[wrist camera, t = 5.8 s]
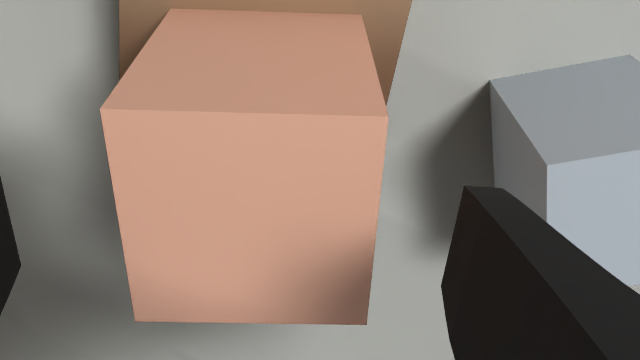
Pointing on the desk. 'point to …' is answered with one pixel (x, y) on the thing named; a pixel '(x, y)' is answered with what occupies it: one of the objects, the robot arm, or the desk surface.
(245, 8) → the walnut base block
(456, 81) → the desk surface
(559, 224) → the slate grey block
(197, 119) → the terracotta block
